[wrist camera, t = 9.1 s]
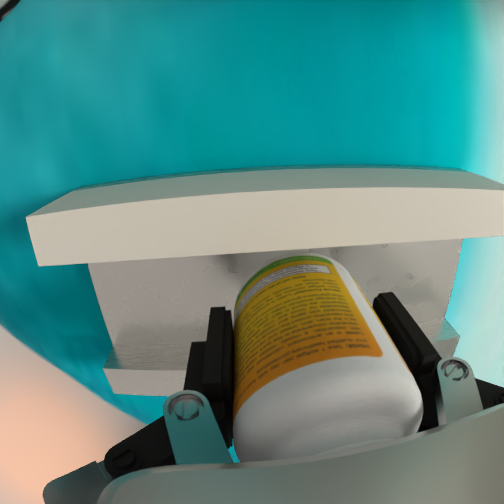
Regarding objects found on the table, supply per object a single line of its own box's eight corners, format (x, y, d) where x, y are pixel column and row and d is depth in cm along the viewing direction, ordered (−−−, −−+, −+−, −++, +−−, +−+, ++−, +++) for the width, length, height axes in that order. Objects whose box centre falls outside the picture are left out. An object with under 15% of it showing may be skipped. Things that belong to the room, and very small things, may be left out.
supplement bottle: (210, 321, 14) (189, 543, 5) (283, 222, 12) (368, 459, 3) (305, 367, 15) (346, 552, 6) (378, 287, 14) (493, 470, 5)
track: (460, 168, 15) (521, 191, 10) (430, 333, 19) (465, 382, 14) (80, 186, 14) (25, 217, 10) (126, 359, 19) (105, 419, 14)
